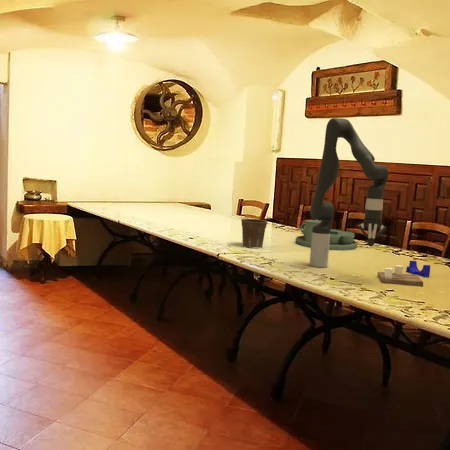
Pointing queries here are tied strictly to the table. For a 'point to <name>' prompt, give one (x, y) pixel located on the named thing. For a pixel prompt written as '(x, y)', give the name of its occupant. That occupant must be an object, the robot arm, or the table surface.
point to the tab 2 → (398, 269)
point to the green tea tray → (337, 237)
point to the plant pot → (253, 232)
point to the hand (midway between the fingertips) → (370, 246)
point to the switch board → (401, 279)
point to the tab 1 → (388, 272)
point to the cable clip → (415, 271)
